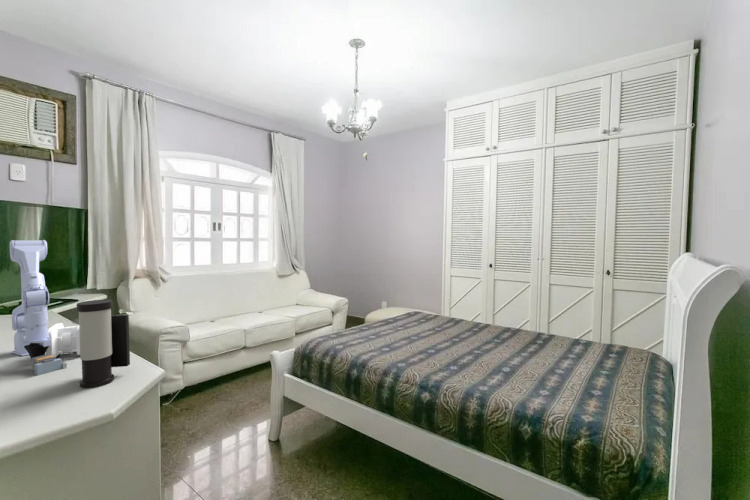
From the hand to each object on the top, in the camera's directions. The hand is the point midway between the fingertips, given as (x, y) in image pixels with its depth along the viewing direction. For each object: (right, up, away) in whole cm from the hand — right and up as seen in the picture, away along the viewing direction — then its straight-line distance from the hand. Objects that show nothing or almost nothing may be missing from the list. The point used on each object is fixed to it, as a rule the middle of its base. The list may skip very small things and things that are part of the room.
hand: (37, 364), depth 119 cm
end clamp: (+7, -1, -4) cm, 8 cm away
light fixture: (+31, -1, -12) cm, 33 cm away
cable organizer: (-1, -1, +13) cm, 13 cm away
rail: (+2, -1, +3) cm, 3 cm away
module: (+4, -1, -2) cm, 4 cm away
